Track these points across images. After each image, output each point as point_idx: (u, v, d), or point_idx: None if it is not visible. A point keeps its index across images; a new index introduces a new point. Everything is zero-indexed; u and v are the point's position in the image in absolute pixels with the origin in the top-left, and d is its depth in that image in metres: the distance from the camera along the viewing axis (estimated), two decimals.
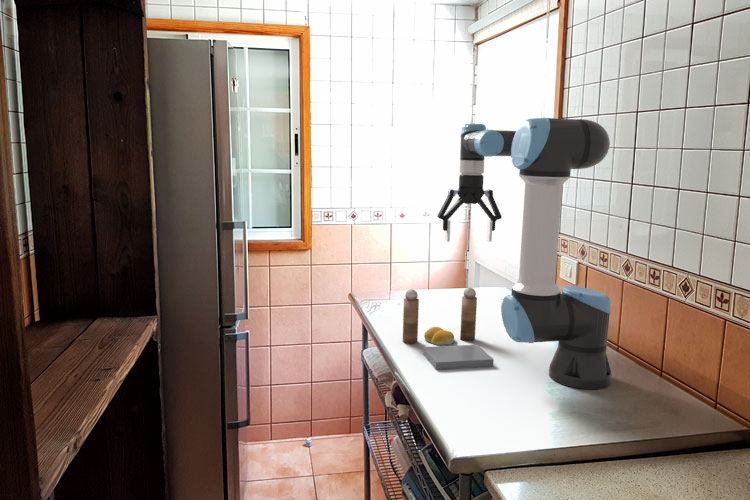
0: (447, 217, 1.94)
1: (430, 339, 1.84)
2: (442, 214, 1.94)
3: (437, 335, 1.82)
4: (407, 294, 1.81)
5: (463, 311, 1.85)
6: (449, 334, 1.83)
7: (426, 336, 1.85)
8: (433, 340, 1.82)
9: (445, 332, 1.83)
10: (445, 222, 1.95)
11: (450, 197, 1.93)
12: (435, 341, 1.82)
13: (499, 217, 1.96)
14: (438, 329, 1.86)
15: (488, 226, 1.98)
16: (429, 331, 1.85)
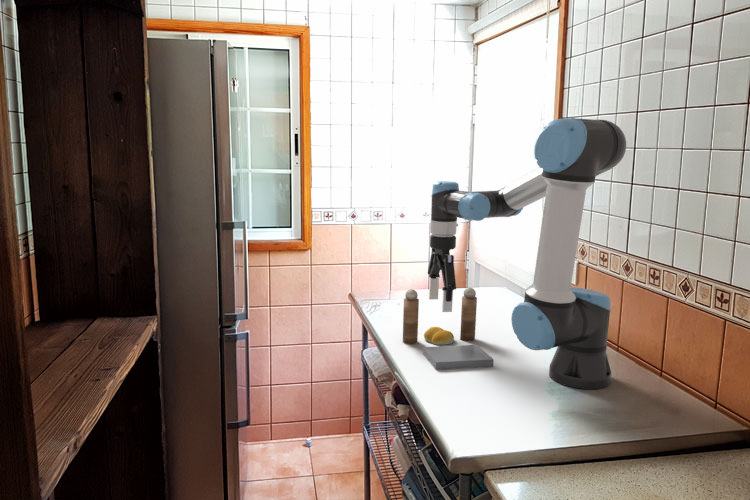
0: (430, 274, 1.90)
1: (430, 339, 1.84)
2: (428, 270, 1.91)
3: (437, 335, 1.82)
4: (407, 294, 1.81)
5: (463, 311, 1.85)
6: (449, 334, 1.83)
7: (426, 335, 1.85)
8: (433, 340, 1.82)
9: (445, 332, 1.83)
10: None
11: (431, 254, 1.88)
12: (435, 341, 1.82)
13: (446, 287, 1.74)
14: (438, 329, 1.86)
15: None
16: (429, 331, 1.85)
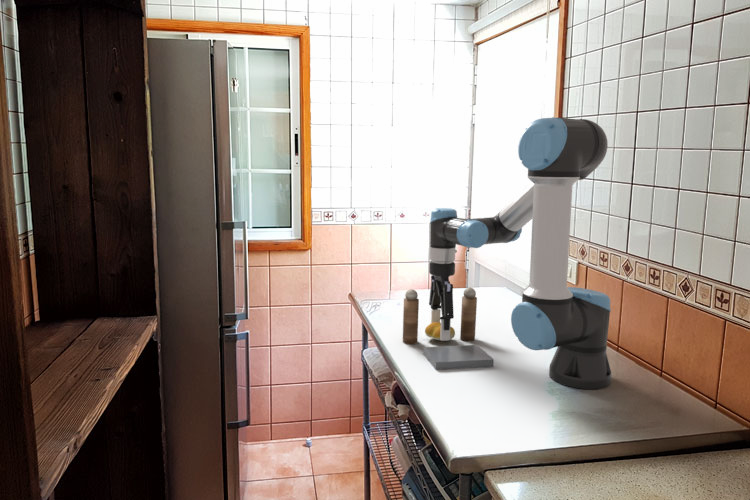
0: (431, 305, 1.89)
1: (431, 334, 1.83)
2: (430, 301, 1.91)
3: (438, 330, 1.82)
4: (407, 294, 1.81)
5: (463, 311, 1.85)
6: (450, 329, 1.82)
7: (427, 331, 1.84)
8: (434, 335, 1.82)
9: None
10: None
11: (431, 283, 1.89)
12: (436, 336, 1.81)
13: (444, 316, 1.77)
14: (439, 324, 1.85)
15: None
16: (430, 326, 1.85)
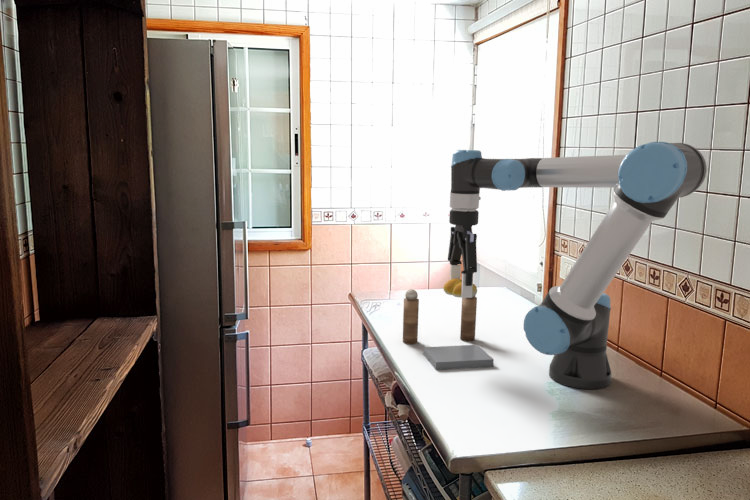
0: (450, 260, 1.70)
1: (450, 291, 1.64)
2: (448, 255, 1.72)
3: (458, 286, 1.63)
4: (407, 294, 1.81)
5: (463, 311, 1.85)
6: None
7: (446, 287, 1.65)
8: (454, 292, 1.63)
9: None
10: None
11: (451, 236, 1.70)
12: (456, 293, 1.62)
13: (466, 270, 1.58)
14: (459, 280, 1.66)
15: None
16: (449, 283, 1.65)
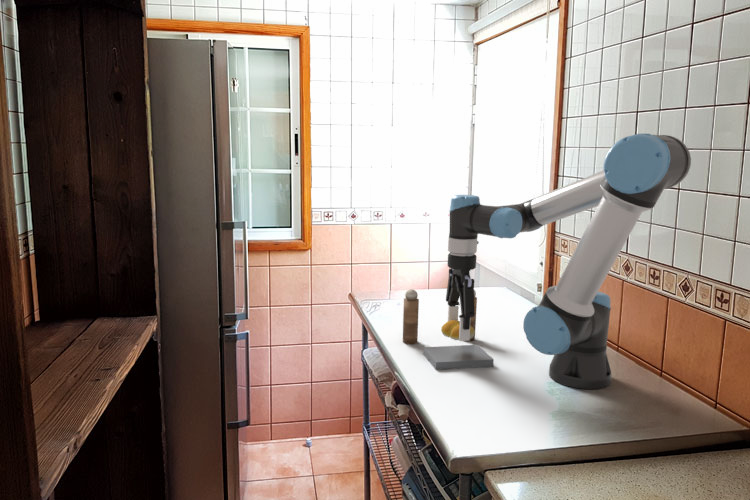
0: (448, 301, 1.72)
1: (448, 333, 1.66)
2: (447, 296, 1.74)
3: (456, 329, 1.65)
4: (407, 294, 1.81)
5: None
6: None
7: (443, 330, 1.67)
8: (452, 335, 1.65)
9: None
10: None
11: (449, 277, 1.72)
12: (454, 336, 1.64)
13: (464, 315, 1.60)
14: (457, 322, 1.68)
15: None
16: (447, 325, 1.68)
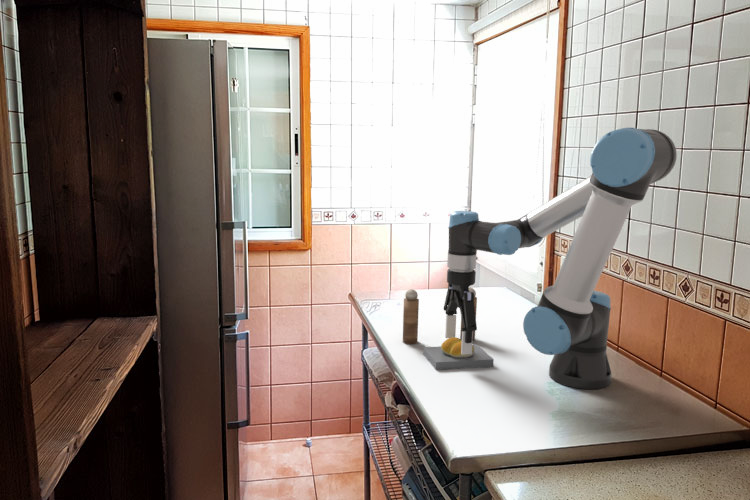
0: (446, 311, 1.74)
1: (448, 351, 1.67)
2: (444, 306, 1.76)
3: (456, 347, 1.66)
4: (407, 294, 1.81)
5: None
6: None
7: (443, 347, 1.68)
8: (452, 352, 1.65)
9: None
10: None
11: (448, 289, 1.73)
12: (454, 353, 1.65)
13: (466, 328, 1.58)
14: (456, 340, 1.69)
15: None
16: (447, 342, 1.68)
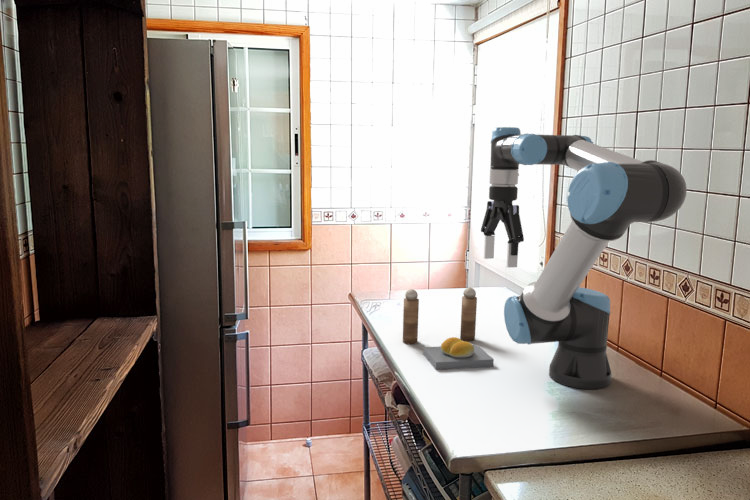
0: (485, 231, 1.76)
1: (448, 351, 1.67)
2: (482, 227, 1.78)
3: (455, 347, 1.66)
4: (407, 294, 1.81)
5: (463, 311, 1.85)
6: (469, 346, 1.66)
7: (443, 347, 1.68)
8: (451, 352, 1.66)
9: (464, 343, 1.66)
10: None
11: (487, 209, 1.75)
12: (453, 353, 1.65)
13: (513, 239, 1.61)
14: (456, 340, 1.69)
15: None
16: (446, 342, 1.68)
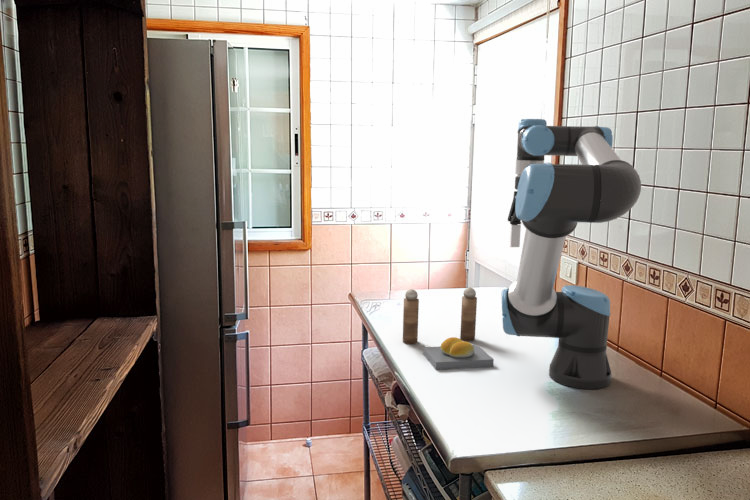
0: (511, 220, 1.81)
1: (447, 351, 1.67)
2: (509, 217, 1.82)
3: (455, 347, 1.66)
4: (407, 294, 1.81)
5: (463, 311, 1.85)
6: (468, 346, 1.66)
7: (443, 347, 1.68)
8: (451, 352, 1.66)
9: (464, 343, 1.66)
10: None
11: (513, 199, 1.79)
12: (453, 353, 1.65)
13: None
14: (456, 340, 1.69)
15: None
16: (446, 342, 1.68)
